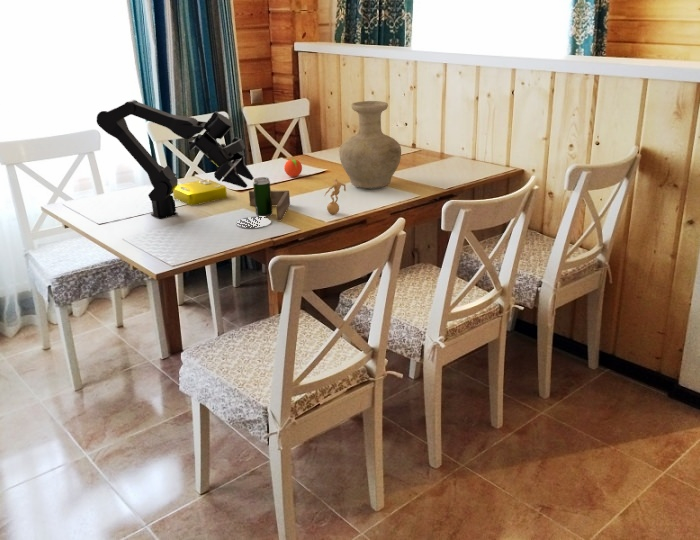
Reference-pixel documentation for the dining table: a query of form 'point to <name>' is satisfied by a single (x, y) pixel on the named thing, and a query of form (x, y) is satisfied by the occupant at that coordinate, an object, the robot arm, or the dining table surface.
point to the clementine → (293, 167)
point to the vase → (370, 149)
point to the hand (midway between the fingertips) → (249, 182)
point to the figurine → (333, 206)
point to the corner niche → (275, 201)
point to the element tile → (199, 192)
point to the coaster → (250, 222)
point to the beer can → (262, 196)
